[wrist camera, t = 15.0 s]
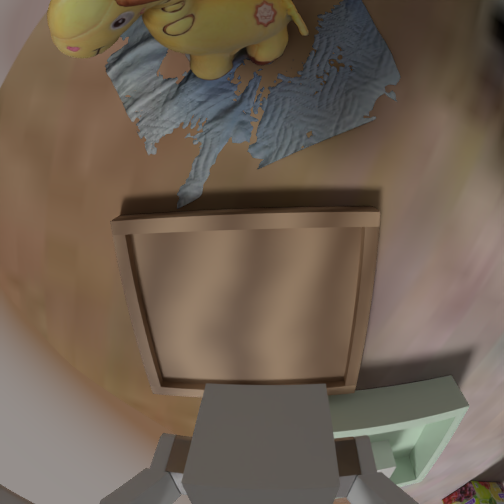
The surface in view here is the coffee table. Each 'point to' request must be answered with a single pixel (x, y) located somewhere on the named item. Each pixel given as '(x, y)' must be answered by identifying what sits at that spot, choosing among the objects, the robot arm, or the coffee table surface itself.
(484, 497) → the snack box
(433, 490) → the coffee table surface
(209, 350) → the walnut tray
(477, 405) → the coffee table surface
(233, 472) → the stone cube
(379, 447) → the stone cube
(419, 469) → the green bin
